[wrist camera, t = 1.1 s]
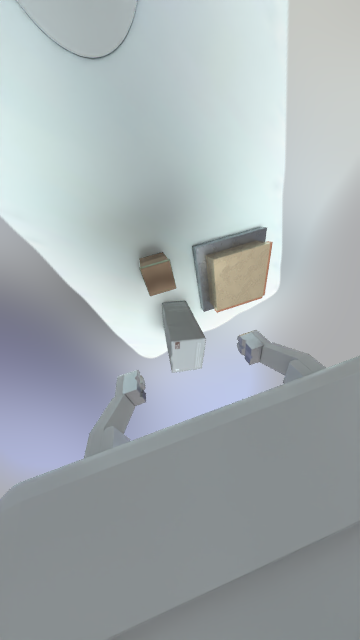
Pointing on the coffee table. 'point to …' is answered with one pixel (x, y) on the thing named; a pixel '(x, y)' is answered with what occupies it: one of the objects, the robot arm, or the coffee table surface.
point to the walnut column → (157, 273)
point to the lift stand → (232, 269)
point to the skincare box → (183, 337)
